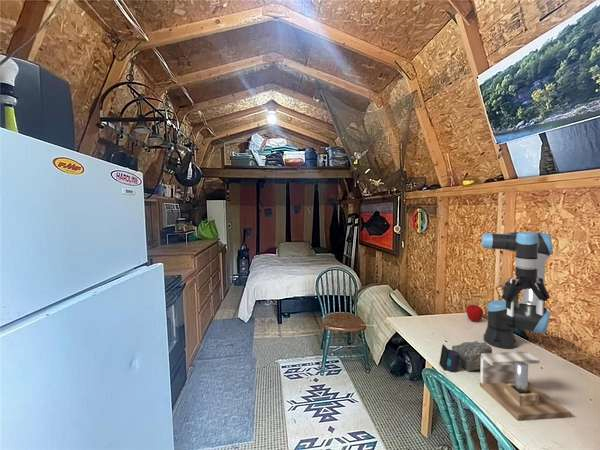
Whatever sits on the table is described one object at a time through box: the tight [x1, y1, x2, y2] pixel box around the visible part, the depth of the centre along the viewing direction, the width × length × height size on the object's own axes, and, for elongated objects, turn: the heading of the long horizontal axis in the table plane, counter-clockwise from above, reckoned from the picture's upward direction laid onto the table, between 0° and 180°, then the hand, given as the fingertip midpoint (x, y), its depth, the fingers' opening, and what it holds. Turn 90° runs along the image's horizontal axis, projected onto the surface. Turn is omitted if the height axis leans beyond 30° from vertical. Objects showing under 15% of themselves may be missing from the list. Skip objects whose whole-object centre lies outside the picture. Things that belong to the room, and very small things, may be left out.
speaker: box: [439, 344, 460, 373], centre depth 135 cm, size 8×6×10 cm
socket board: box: [479, 351, 571, 422], centre depth 113 cm, size 20×20×14 cm
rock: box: [451, 340, 493, 372], centre depth 138 cm, size 18×13×15 cm
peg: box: [514, 362, 529, 394], centre depth 110 cm, size 4×4×14 cm
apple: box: [465, 304, 484, 322], centre depth 190 cm, size 10×10×11 cm
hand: (524, 315), depth 126 cm, fingers open, 13 cm apart
